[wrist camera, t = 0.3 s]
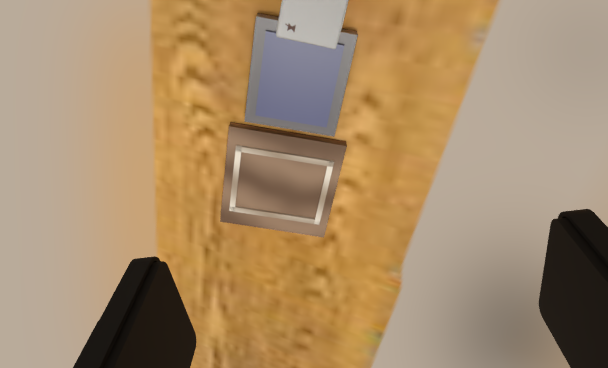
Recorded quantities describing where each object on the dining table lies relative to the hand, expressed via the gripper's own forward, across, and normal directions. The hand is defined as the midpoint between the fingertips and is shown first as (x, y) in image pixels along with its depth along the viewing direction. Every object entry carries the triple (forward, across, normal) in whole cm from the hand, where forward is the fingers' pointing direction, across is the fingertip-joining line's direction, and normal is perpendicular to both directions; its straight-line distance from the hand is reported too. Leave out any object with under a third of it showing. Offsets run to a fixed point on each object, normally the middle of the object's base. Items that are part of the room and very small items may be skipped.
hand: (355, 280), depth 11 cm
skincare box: (+34, 0, -4) cm, 34 cm away
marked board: (+34, +7, +16) cm, 38 cm away
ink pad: (+34, +3, +5) cm, 34 cm away
